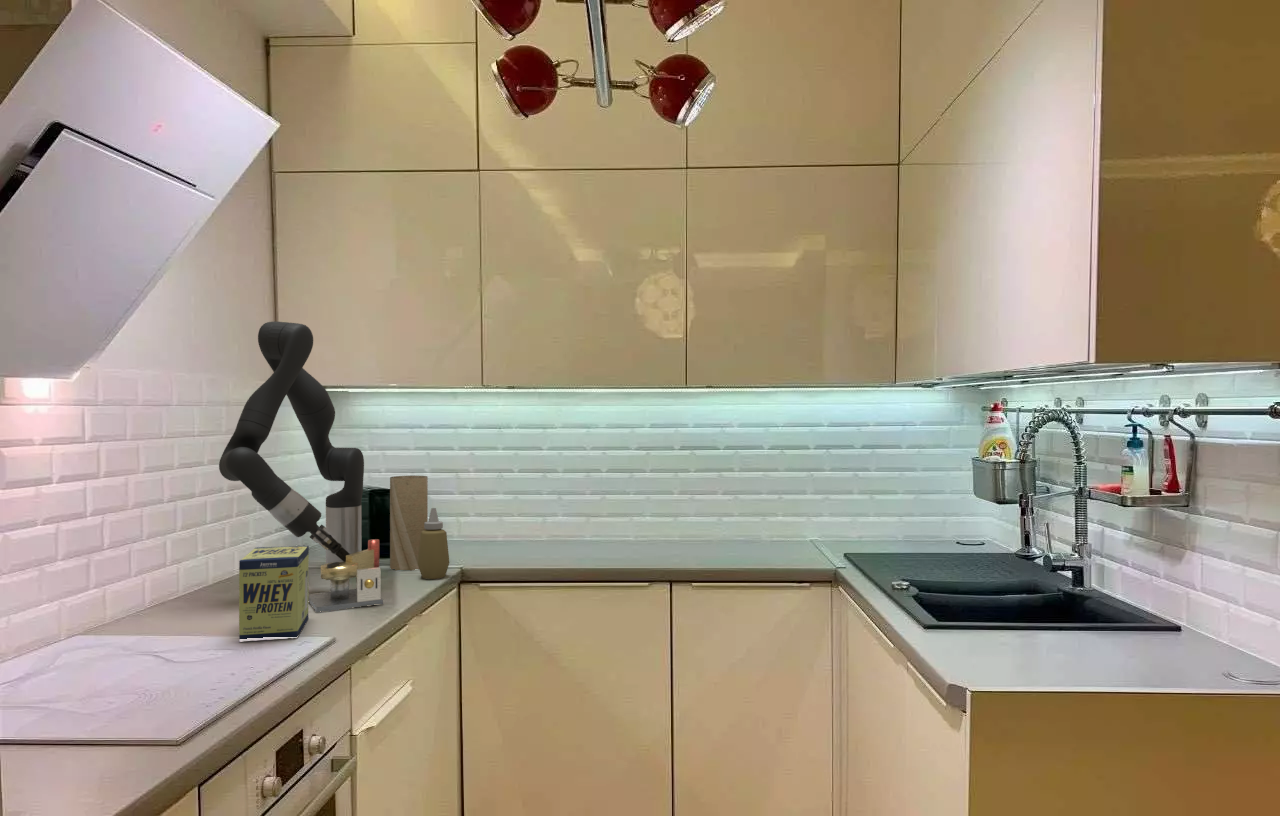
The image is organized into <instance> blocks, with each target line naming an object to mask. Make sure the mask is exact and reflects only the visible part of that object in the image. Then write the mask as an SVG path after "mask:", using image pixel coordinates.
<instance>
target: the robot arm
mask: <svg viewBox="0 0 1280 816" xmlns="http://www.w3.org/2000/svg"><path fill="white" fill-rule="evenodd" d="M257 342H258V347H259V350H260V351H261V354H262V356H263V358H264V359H265V361H266V363H267V364H268V366H269V367H270V369H271V370H272V374H271V375H270V377H268V378H267V379H266V380H265V381H264V383H262V384H261V385H260V386H259V387H258V388H257V389H256V390H255V391H254V392H253V393H252V394H251V395H250V396H249V398H248V399H247V401H246V402H245V404H244V406H243V409H242V411H241V414H240V417H239V418H238V421H237V424H236V426H235V429H234V431H233V433H232V435H231V437H230V439H229V441H228V443H227V444H226V447H225V448H224V450H223V451H222V454H221V457H220V459H219V463H218V469H219V472H220V475H221V476H222V477H223V478H224V479H226V480H227V481H230V482H231V481H232V482H241V483H242V484H243V485H244V486H245V487H247V489H248V490H250V493H251V496H252V498H253V499H254V500H255V501H256V502H257V503H258V504H259V505H261V506H262V507H263V508H264V509H265V510H267V511H268V513H270V514H271V516H272V517H273V518H274V519H275V520H277V522H279V523H280V525H282V526H283V527H284V528H286V529H287V530H288V531H289V532H290V533H292V534H293V535H294V536H295V537H296V538H301V537H303V536H304V535H306V534H307V533H310V535H309V539H310V540H313V542H315V543H316V544H319V545H320V546H321V547H322V548H323V549H324V550H325V564H327V563H334V562H346V555H350V554H353V553H356V552H360V551H363V550H362V498H363V494H364V493H363V492H364V471H365V458H364V454H363V452H362V450H361V449H360V448H358V447H336V446H334V445H332V443H331V440H330V438H329V437H330V436H329V434H330V432H331V429H332V427H333V425H334V422H335V418H336V409H335V407H334V404H333V401H332V399H331V397H330V395H329V393H328V391H327V389H326V388H325V387H324V386H323V384H321V383H320V382H319V381H318V380H317V379H316V378H315V377H314V376H312V374H310V373H309V372H308V371H307V370H305V369H304V366H305V364H306V362H307V360H308V359H309V357H310V354H311V353H312V350H313V346H314V335H313V332H312V330H311V329H310V327H308V326H307V325H306V324H303V323H299V322H298V323H297V322H287V321H284V322H283V321H274V320H273V321H267V322H264V323H263V324H262V325H261V326H260V328H259V330H258V334H257ZM286 396H287V399H288V400H289V402H290V405H291V407H292V410H293V411H294V412H293V413H294V414H295V416H296V418H297V420H298V422H299V424H300V425H301V428H302V429H303V432H304V434H305V436H306V438H307V440H308V441H307V442H308V443H309V446H310V449H311V451H312V454H313V457H314V459H315V463H316V466H317V468H318V471H319V473H320V475H321V476H322V477H323V479H324V480H326V481H328V482H329V481H331V482H344V483H343V487H342V489H340V490H339V491H337V492H333V493H331V494H329V495H327V496H326V497H325V525H323V524H321V525H318V522H319V520H320V519H321V517H322V512H321V511H320V510H319V509H317V508H316V507H315V506H314V505H313V504H311V502H309V501H308V500H307V499H306V498H305V497H304V496H303V495H301V494H300V493H299V492H297V491H296V490H294V488H292V487H291V486H290V485H288V484H287V483H286V482H285V481H284V480H283V479H281V478H280V477H279V476H278V475H277V474H276V473H275V471H274V470H273V469H272V467H271V466H270V465H269V464H268V463H267V462H266V460H265V459H264V458H263V456H262V455H260V454H259V451H260V448H261V446H262V445H263V443H264V442H266V440H267V439H268V438H269V435H270V433H271V430H272V428H273V425H274V422H275V419H276V418H277V415H278V412H279V410H280V408H281V405H282V404H283V401H284V400H285V397H286Z"/></svg>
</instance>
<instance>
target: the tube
mask: <svg viewBox="0 0 1280 816" xmlns="http://www.w3.org/2000/svg"><path fill="white" fill-rule="evenodd" d="M428 479H429V478H428V475H427V476H426V475H396V476H391V477H390V478H389V513H390V514H389V529H390V530H389V569H390V568H391V569H390V570H392V569H395V570H394V571H397V570H410V571H416V570H415V569H419V567H418V555H419V545H420V535H421V532H422V531H424V530H426V529H424V523H425V522H428V521H429V517H428V513H429V512H428V511H429V508H428V506H429V505H428V504H429V503H428V499H429V498H428V491H429V490H428V488H429V487H428V486H429V484H428Z"/></svg>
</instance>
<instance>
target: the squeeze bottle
mask: <svg viewBox="0 0 1280 816" xmlns="http://www.w3.org/2000/svg"><path fill="white" fill-rule="evenodd" d="M443 525H444V522H443V521H441V520H439V516H438V512H437V508H436V507H432V508H431V509H430V513H429V517H428V522H425V523H424V529H426V530H424V531H422V532H421V535H420V545H419V555H418V567H419V572H420V575H421V578H422V579H424V580H425V579H426V580H437V579H438V580H439V579H444V577H446V576H447V572H448V569H449V566H450V555H449V545H448V535H447V531H446V530H445V529H443V527H444V526H443Z"/></svg>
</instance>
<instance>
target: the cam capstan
mask: <svg viewBox="0 0 1280 816" xmlns="http://www.w3.org/2000/svg"><path fill="white" fill-rule="evenodd" d="M377 567H380V539H378V538H375V539H372V538H371V539H368V540H367V549H363V550H362V551H360V552H356V553H353V554H350V555H346V562H334V563H327V564H326V563H324V564H322V565H320V579H322V580H326V581H327V580H328V581H330V580H342V579H349V580H350V579H354V578H356V570H357V569H367V568H377Z"/></svg>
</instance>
